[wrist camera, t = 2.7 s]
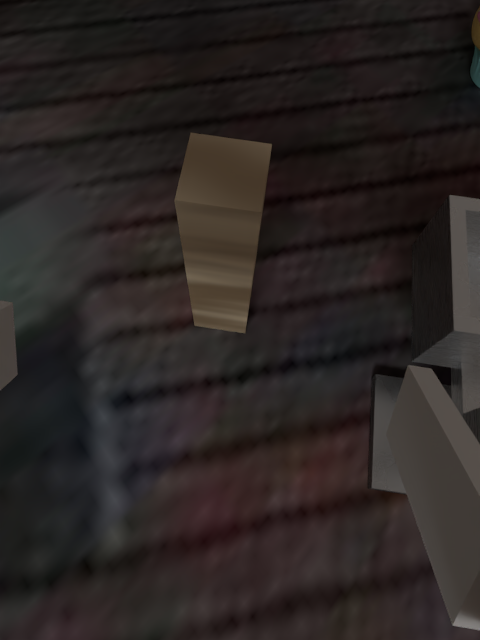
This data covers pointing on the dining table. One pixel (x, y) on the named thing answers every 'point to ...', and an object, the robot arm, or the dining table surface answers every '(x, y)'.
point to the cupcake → (476, 49)
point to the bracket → (437, 327)
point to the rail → (221, 225)
